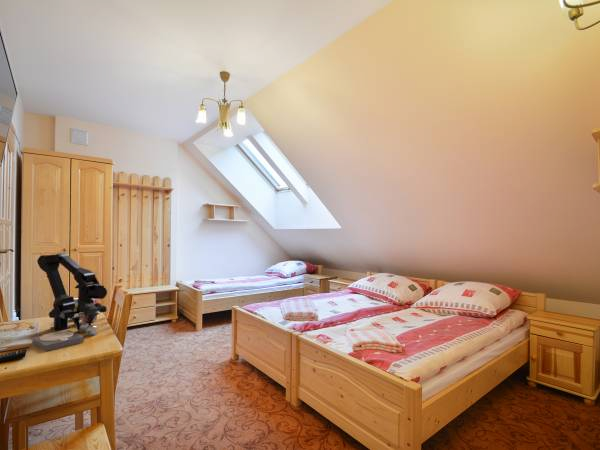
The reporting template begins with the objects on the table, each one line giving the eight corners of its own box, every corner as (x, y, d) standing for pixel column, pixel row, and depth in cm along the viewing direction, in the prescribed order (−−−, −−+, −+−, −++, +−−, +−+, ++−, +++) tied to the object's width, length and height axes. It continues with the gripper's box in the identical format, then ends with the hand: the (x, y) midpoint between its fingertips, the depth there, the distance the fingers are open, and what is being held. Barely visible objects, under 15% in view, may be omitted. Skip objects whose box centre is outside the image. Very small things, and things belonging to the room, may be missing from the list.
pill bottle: (76, 321, 171) (77, 300, 171) (66, 320, 172) (67, 299, 173) (86, 318, 177) (87, 297, 178) (77, 317, 179) (78, 296, 179)
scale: (31, 343, 136) (32, 336, 136) (69, 335, 148) (69, 329, 148) (45, 351, 128) (45, 344, 128) (83, 342, 140) (83, 335, 140)
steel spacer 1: (76, 331, 155) (76, 323, 155) (86, 328, 158) (86, 321, 158) (80, 332, 152) (80, 324, 152) (90, 330, 156) (90, 322, 156)
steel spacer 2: (84, 334, 150) (84, 326, 150) (94, 332, 153) (95, 324, 153) (88, 336, 147) (89, 328, 147) (98, 334, 151) (99, 326, 151)
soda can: (86, 319, 174) (87, 298, 175) (99, 319, 175) (100, 298, 175) (78, 323, 167) (79, 300, 168) (92, 323, 168) (93, 301, 168)
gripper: (70, 302, 144) (68, 337, 143) (112, 296, 159) (111, 327, 159) (60, 299, 150) (58, 332, 149) (102, 294, 165) (100, 323, 165)
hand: (83, 328), depth 155 cm, fingers closed on steel spacer 1, 4 cm apart
